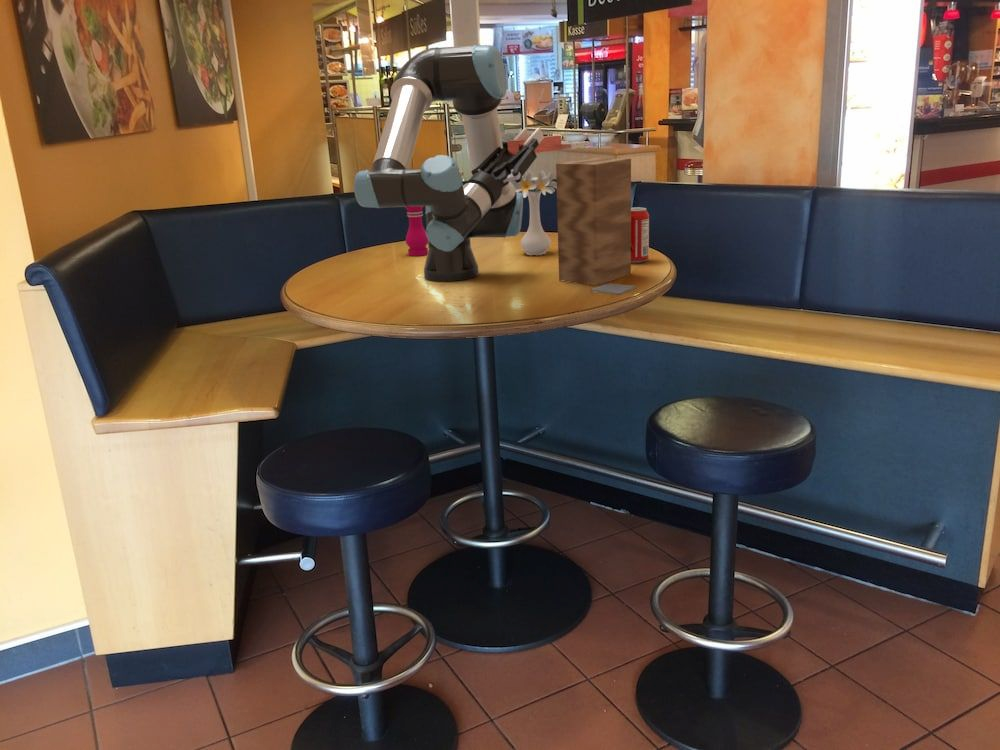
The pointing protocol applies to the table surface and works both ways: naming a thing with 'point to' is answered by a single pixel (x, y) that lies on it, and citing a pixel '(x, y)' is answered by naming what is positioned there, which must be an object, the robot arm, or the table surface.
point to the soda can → (639, 235)
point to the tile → (613, 288)
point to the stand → (594, 219)
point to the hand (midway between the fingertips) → (533, 133)
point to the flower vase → (535, 210)
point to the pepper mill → (416, 232)
